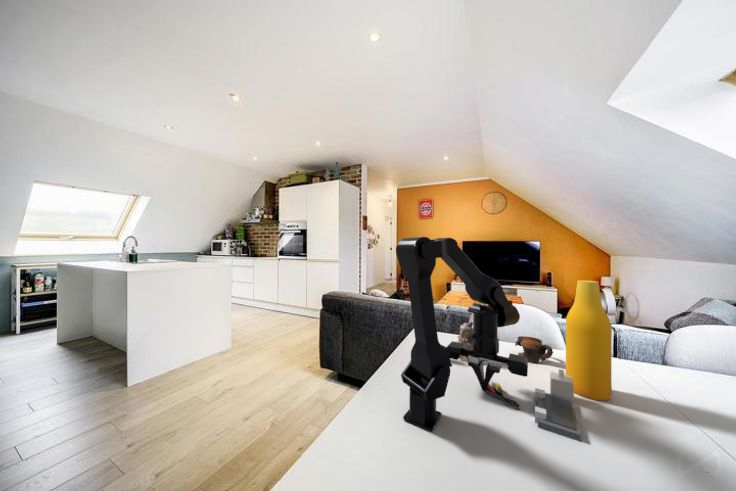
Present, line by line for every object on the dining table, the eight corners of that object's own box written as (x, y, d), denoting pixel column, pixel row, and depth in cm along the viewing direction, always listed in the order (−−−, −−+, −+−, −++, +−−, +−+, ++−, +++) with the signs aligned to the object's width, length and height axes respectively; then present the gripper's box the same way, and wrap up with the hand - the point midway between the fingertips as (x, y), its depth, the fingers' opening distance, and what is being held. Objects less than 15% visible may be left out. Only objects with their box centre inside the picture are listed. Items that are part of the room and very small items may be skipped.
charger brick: (573, 404, 61) (573, 377, 61) (550, 398, 64) (551, 371, 64) (571, 396, 65) (571, 369, 65) (550, 390, 67) (550, 365, 67)
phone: (581, 441, 49) (581, 429, 49) (534, 426, 54) (534, 414, 54) (572, 405, 61) (572, 394, 61) (535, 394, 65) (535, 385, 65)
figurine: (451, 355, 89) (451, 321, 89) (466, 352, 92) (466, 319, 92) (467, 364, 82) (467, 326, 82) (483, 360, 85) (483, 324, 85)
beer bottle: (562, 378, 74) (563, 278, 74) (605, 388, 69) (606, 280, 69) (568, 394, 66) (568, 281, 66) (617, 406, 61) (617, 284, 61)
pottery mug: (509, 358, 88) (509, 334, 92) (524, 366, 92) (524, 342, 96) (547, 362, 79) (546, 335, 82) (562, 370, 82) (560, 344, 86)
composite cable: (523, 411, 59) (523, 400, 59) (504, 412, 58) (504, 401, 58) (496, 388, 69) (496, 378, 69) (479, 389, 68) (479, 379, 68)
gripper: (528, 328, 67) (528, 387, 67) (456, 316, 77) (455, 368, 77) (527, 340, 58) (526, 409, 58) (445, 325, 68) (444, 384, 68)
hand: (484, 390), depth 65 cm, fingers closed
